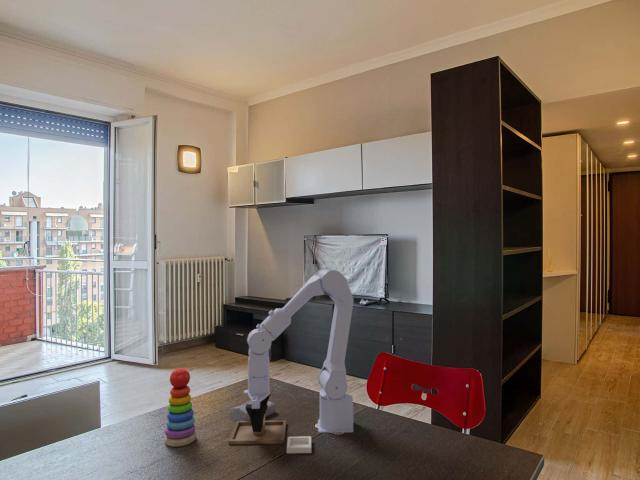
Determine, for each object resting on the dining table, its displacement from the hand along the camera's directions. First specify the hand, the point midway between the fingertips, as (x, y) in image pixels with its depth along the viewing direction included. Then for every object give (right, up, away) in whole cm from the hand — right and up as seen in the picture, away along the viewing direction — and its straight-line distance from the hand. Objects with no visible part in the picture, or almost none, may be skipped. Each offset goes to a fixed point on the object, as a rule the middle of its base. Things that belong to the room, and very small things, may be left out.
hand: (259, 425), depth 116 cm
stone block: (-4, -3, +13) cm, 14 cm away
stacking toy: (-20, -3, -4) cm, 20 cm away
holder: (+11, -2, -8) cm, 14 cm away
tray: (0, -2, 0) cm, 2 cm away
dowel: (0, -2, 0) cm, 2 cm away
